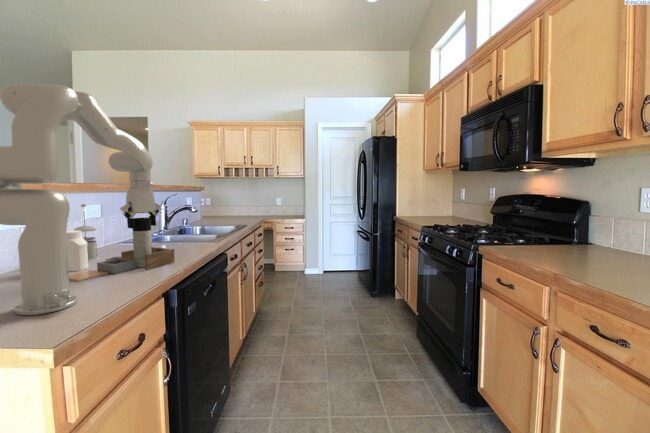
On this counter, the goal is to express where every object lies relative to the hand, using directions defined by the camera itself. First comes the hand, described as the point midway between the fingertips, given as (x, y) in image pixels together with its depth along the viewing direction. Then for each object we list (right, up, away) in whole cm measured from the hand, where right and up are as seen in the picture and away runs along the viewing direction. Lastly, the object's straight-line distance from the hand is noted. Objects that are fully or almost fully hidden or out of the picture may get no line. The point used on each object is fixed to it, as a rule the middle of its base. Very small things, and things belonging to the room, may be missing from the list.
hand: (142, 226), depth 127 cm
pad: (-12, -18, -15) cm, 26 cm away
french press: (-32, -15, +11) cm, 37 cm away
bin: (-6, -17, -6) cm, 19 cm away
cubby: (+1, -16, +4) cm, 16 cm away
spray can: (0, -17, +1) cm, 17 cm away
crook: (-13, -16, +9) cm, 22 cm away
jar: (-25, -17, -6) cm, 31 cm away
